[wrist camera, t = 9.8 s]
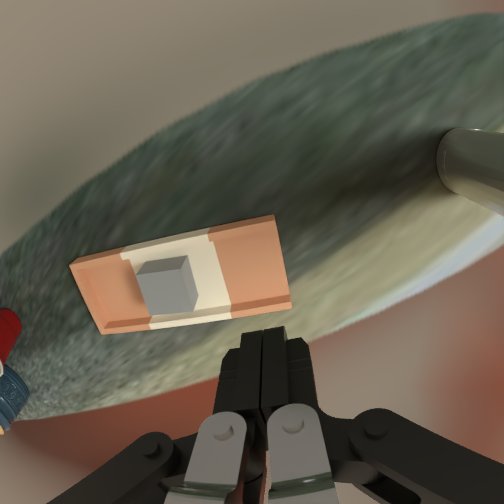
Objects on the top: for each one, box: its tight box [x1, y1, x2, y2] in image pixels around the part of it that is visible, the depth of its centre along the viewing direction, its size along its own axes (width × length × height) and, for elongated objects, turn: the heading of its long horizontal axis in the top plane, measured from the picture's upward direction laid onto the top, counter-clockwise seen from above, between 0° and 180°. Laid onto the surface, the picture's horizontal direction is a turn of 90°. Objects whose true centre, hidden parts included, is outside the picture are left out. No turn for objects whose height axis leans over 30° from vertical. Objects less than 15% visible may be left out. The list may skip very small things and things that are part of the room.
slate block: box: [136, 255, 199, 316], centre depth 39 cm, size 6×6×4 cm
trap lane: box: [69, 214, 292, 335], centre depth 41 cm, size 29×12×2 cm, turn 102°
